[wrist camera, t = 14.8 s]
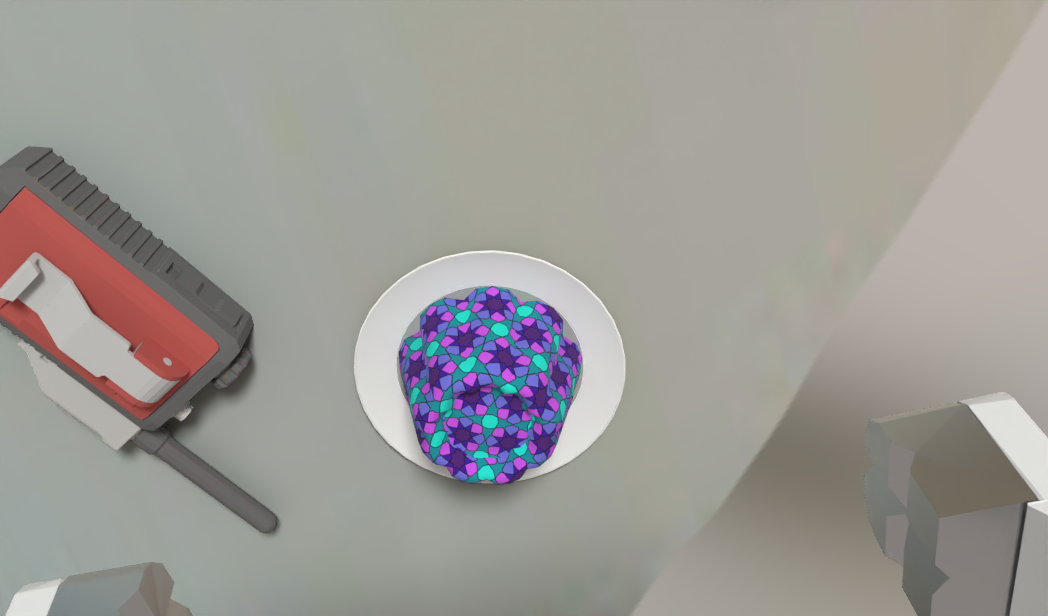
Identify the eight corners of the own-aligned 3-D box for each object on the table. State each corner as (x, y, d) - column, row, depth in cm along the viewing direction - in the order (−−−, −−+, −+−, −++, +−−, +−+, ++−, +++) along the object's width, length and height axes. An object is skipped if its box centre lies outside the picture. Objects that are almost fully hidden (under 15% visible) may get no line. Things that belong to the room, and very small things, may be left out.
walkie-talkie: (-102, 248, 40) (265, 521, 47) (-169, 296, 37) (243, 586, 43) (18, 109, 38) (389, 420, 45) (-40, 144, 34) (377, 479, 41)
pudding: (377, 218, 40) (359, 272, 35) (655, 272, 41) (673, 331, 37) (340, 450, 45) (320, 523, 41) (587, 492, 47) (595, 568, 42)
